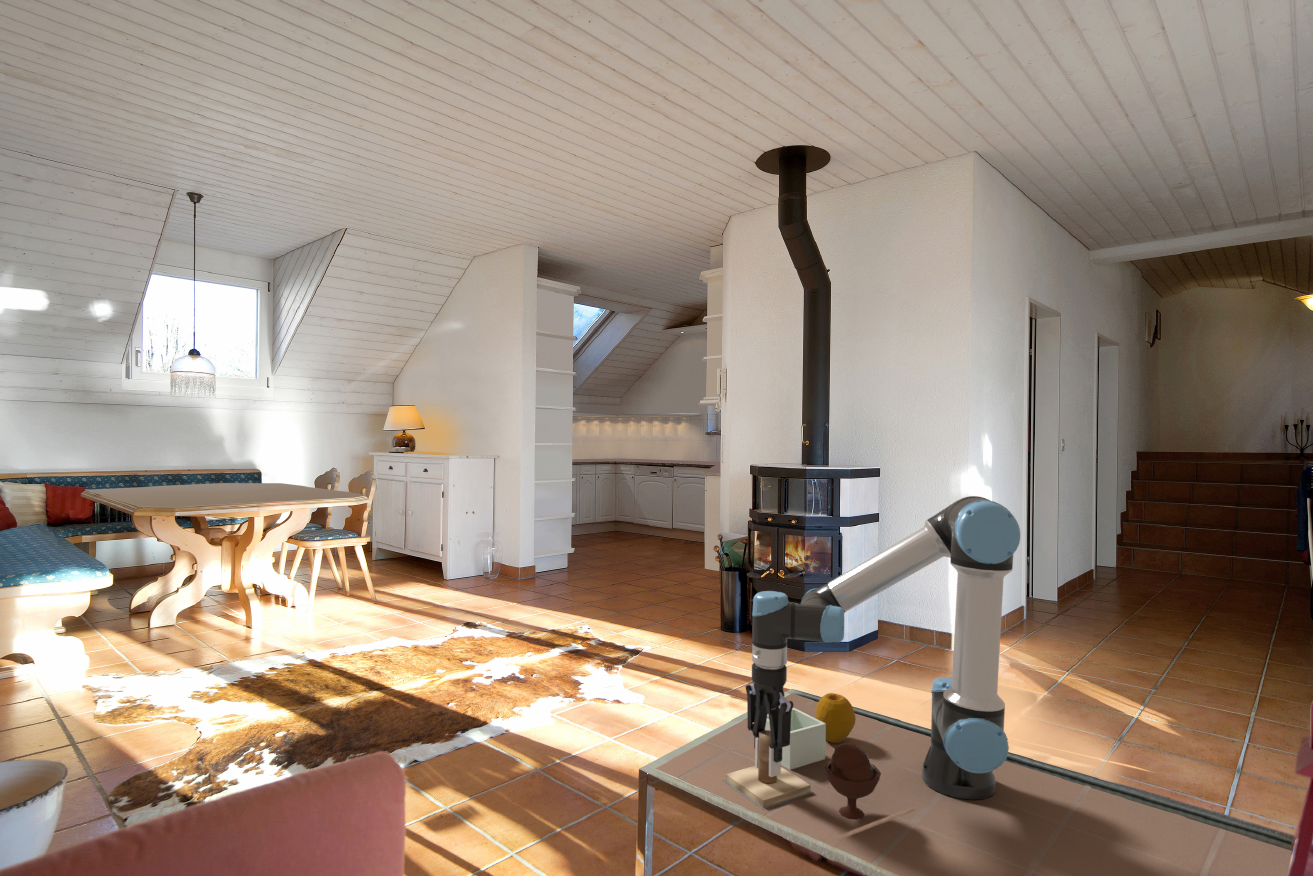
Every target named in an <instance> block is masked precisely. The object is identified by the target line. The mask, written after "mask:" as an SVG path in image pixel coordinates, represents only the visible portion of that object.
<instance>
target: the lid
mask: <svg viewBox="0 0 1313 876" xmlns="http://www.w3.org/2000/svg"><path fill="white" fill-rule="evenodd" d="M771 744H772V741H771V732H770V730H764V731H760V732H759V763H758V768H756V767H755V765H752V766H748V767H745V768H742V769H739V770H736V771H732V772H728V773H725V780H726V782H728V783H729V784H731V785H732V786H733V787H735V788H736V789H738V790H739V791H740V792H742V793H743V794H745V795H746V796H748V797H749V798H750V799H752V800H753V801H755V802H756V803H757V804H759V805H760V806H762V807H763V808H764V807H767V806H770V805H773V804H776V803H779V802H782V801H785V800H788V799H791V798H794V797H797V796H800V795H803V794H806V793H809V792H810V790H811V783H810V784H809V783H808V782H807V781H805V780H804V779H801V778H800V777H798V776H797V775H795V774H793V773H792V772H790V771H788V769H785V767H782V766H781V774H780V775H777V776H773V777H770V776H769V745H771Z"/></svg>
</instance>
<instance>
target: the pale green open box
mask: <svg viewBox="0 0 1313 876" xmlns="http://www.w3.org/2000/svg"><path fill="white" fill-rule="evenodd" d="M765 730H770V723H769V715H768V714H767V720H766V727H765ZM777 741H778V740H777ZM826 741H827V740H826V724H825V723H823V722H821V721H819V720H817V719H816V717H813V716H811V715H809V714H807V713H806V712H804V711H801V710H799V709H797V708H795V707H793V708H792V711H791V730H790V745H789V746H785V747H783V748H782V761H781V766H783V768H786V769H787V770H789V771H790V770H794V769H798V768H800V767H804V766H808V765H810V764H814V763H817V762H820V761H823V760H826Z"/></svg>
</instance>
